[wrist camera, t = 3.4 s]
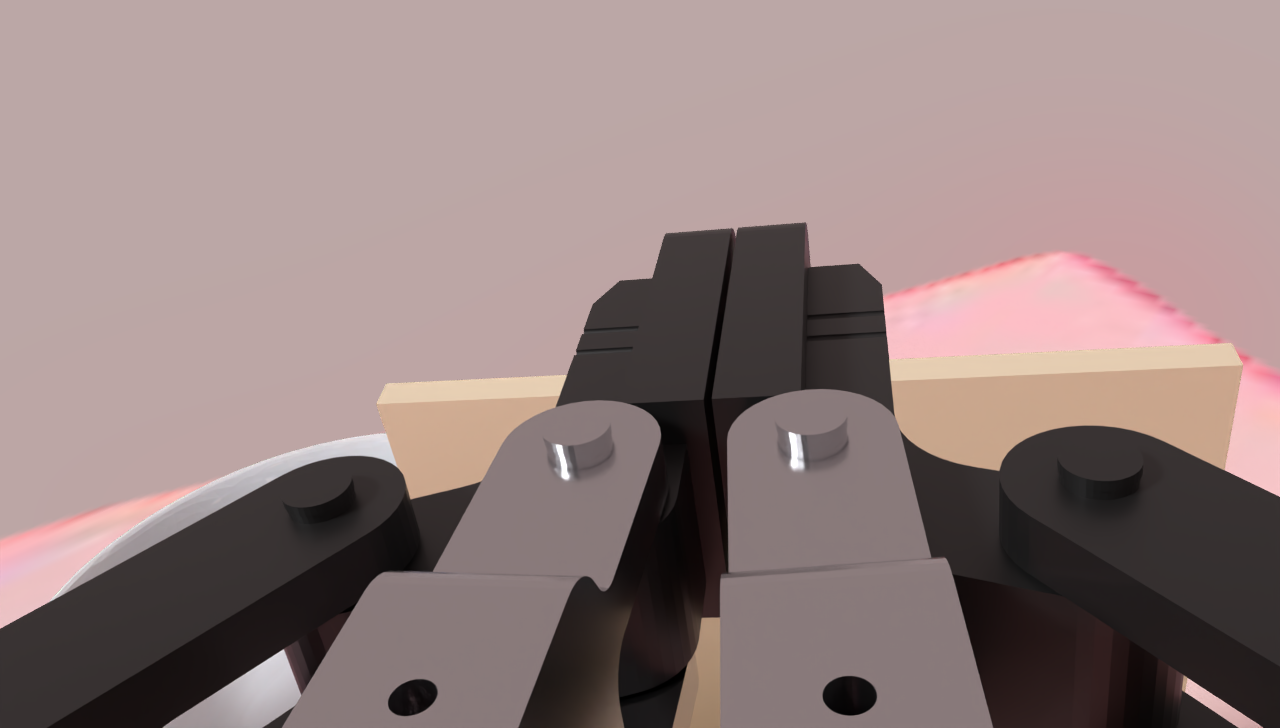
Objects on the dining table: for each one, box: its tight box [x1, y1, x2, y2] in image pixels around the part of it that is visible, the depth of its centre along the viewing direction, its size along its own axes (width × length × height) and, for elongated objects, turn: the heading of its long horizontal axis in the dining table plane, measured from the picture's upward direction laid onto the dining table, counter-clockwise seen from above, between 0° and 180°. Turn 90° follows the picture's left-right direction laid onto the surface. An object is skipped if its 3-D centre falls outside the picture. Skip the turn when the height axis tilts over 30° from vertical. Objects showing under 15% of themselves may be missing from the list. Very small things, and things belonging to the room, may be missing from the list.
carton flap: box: [376, 343, 1243, 728], centre depth 22 cm, size 10×14×1 cm
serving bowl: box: [51, 433, 398, 728], centre depth 43 cm, size 21×21×7 cm
